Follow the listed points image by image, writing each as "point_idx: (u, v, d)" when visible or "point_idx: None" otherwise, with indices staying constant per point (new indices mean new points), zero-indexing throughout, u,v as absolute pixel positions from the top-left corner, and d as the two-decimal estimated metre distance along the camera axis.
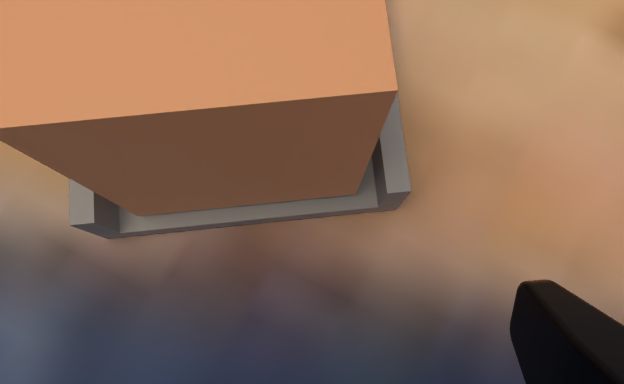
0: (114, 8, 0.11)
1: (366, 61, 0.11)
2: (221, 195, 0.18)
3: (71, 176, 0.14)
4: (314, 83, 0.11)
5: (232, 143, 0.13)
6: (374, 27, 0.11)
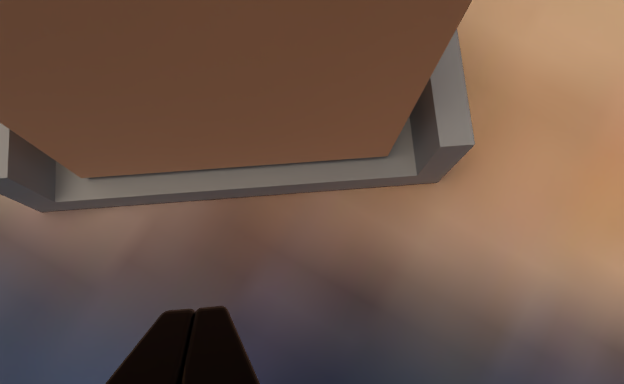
0: None
1: None
2: (198, 143, 0.13)
3: None
4: None
5: (211, 2, 0.07)
6: None
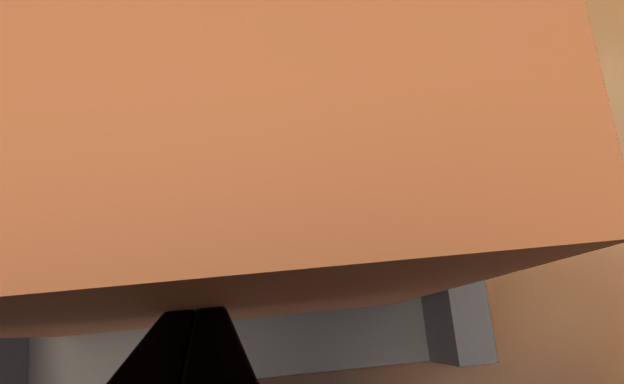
0: None
1: (548, 153, 0.04)
2: None
3: None
4: (413, 217, 0.04)
5: (195, 301, 0.06)
6: (563, 64, 0.04)
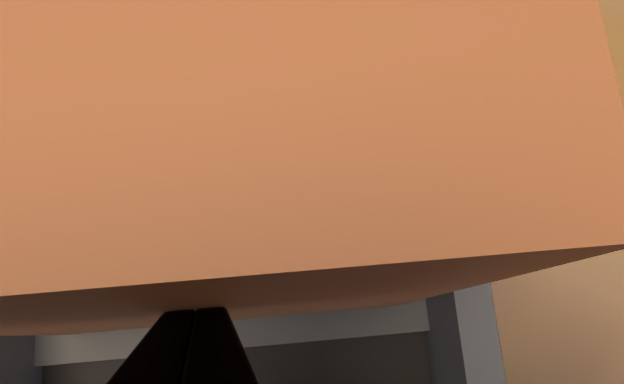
0: None
1: (564, 156, 0.04)
2: None
3: None
4: (430, 219, 0.04)
5: (207, 301, 0.06)
6: (578, 69, 0.04)
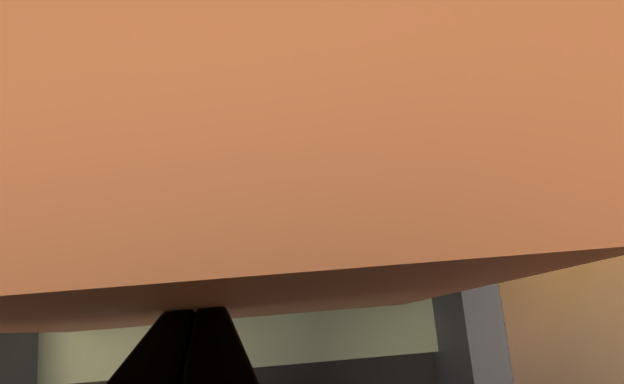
0: None
1: (587, 155, 0.04)
2: None
3: None
4: (448, 219, 0.04)
5: (216, 300, 0.06)
6: (600, 64, 0.04)
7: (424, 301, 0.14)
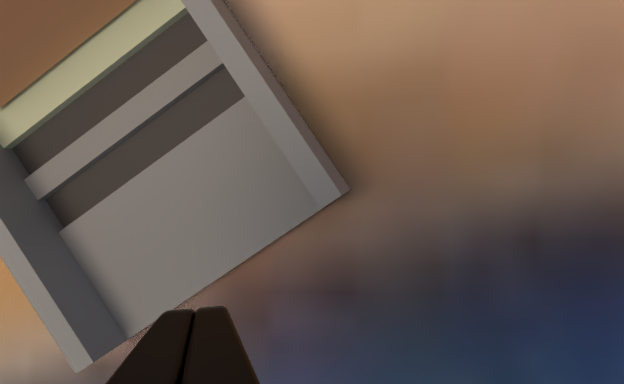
0: None
1: None
2: (24, 49, 0.19)
3: None
4: None
5: None
6: None
7: None
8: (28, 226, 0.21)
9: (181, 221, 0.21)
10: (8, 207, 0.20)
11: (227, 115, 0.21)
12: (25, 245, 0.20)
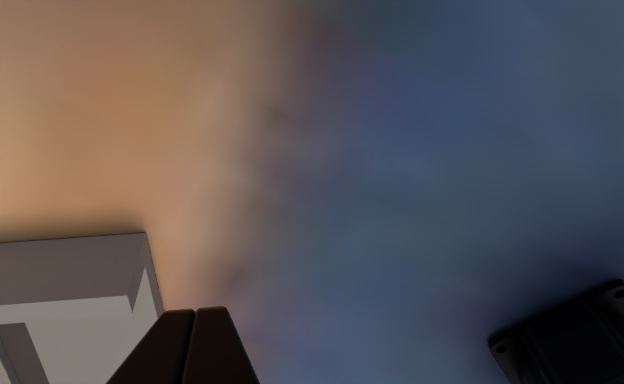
0: None
1: None
2: None
3: None
4: None
5: None
6: None
7: None
8: None
9: (104, 367, 0.23)
10: None
11: None
12: None
